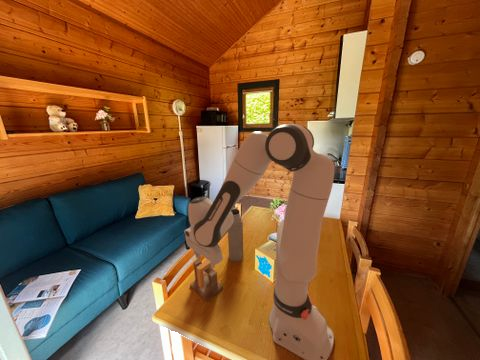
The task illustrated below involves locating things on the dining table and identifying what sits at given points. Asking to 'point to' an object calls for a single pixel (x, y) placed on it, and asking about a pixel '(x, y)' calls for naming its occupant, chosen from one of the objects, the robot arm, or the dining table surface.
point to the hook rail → (206, 283)
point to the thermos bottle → (236, 237)
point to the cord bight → (200, 270)
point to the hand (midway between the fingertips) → (205, 262)
